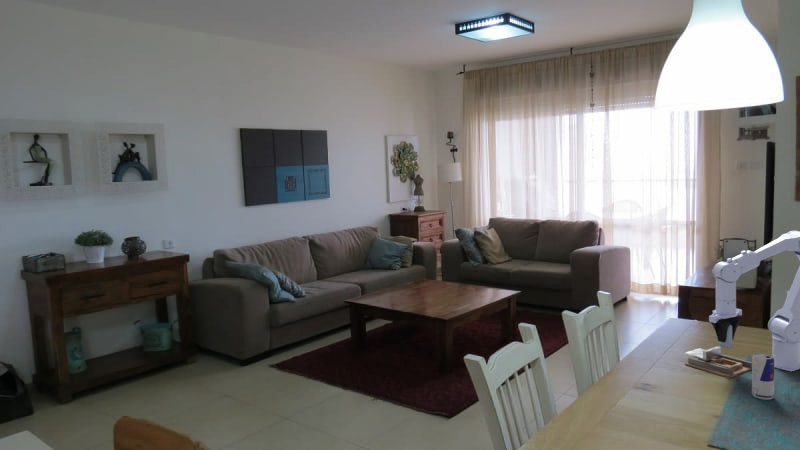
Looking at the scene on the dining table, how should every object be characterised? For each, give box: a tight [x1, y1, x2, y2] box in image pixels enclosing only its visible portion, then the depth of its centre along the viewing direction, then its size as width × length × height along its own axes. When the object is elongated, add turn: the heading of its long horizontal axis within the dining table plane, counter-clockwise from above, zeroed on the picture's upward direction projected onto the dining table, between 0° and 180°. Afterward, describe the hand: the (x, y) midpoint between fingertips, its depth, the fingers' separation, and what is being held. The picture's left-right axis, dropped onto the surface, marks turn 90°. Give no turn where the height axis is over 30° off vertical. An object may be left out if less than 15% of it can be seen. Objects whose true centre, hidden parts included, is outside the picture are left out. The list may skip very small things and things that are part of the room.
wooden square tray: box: [684, 353, 752, 379], centre depth 191 cm, size 14×15×2 cm
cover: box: [683, 345, 722, 361], centre depth 196 cm, size 8×8×3 cm
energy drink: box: [751, 352, 775, 401], centre depth 166 cm, size 5×5×12 cm
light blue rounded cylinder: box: [719, 325, 733, 349], centre depth 188 cm, size 4×4×7 cm
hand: (725, 340), depth 188 cm, fingers closed on light blue rounded cylinder, 4 cm apart
